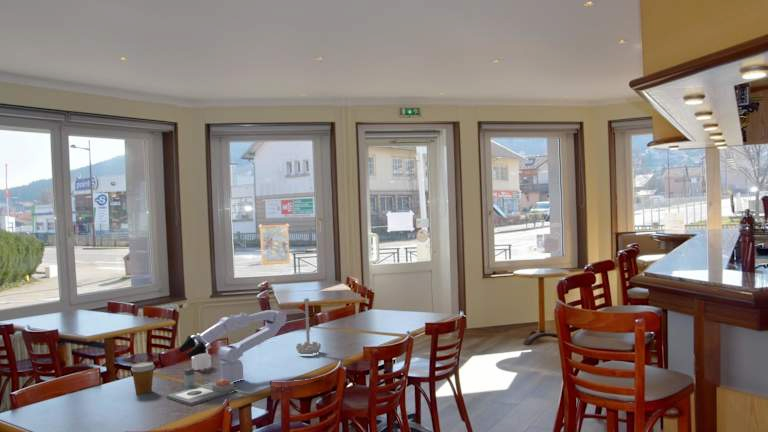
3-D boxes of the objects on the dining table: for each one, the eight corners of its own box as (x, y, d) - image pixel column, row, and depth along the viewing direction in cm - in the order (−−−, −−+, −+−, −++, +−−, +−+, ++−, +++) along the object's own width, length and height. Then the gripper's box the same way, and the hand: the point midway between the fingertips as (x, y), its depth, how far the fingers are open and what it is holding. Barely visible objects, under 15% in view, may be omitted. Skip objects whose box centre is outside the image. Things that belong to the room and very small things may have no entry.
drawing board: (212, 384, 261) (212, 377, 261) (236, 391, 249) (236, 383, 249) (166, 398, 244) (166, 389, 244) (190, 405, 232) (190, 397, 232)
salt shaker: (191, 385, 260) (190, 367, 260) (196, 387, 258) (196, 369, 258) (183, 388, 257) (182, 369, 257) (188, 389, 255) (187, 371, 255)
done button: (224, 384, 251) (224, 378, 251) (229, 386, 249) (229, 379, 249) (216, 387, 248) (216, 380, 248) (221, 388, 246) (221, 382, 246)
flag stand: (323, 351, 317) (321, 295, 316) (318, 357, 304) (315, 299, 304) (299, 351, 318) (297, 296, 318) (293, 357, 305) (291, 300, 305)
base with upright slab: (205, 370, 285) (204, 346, 285) (188, 370, 287) (187, 346, 287) (214, 365, 294) (213, 342, 294) (197, 365, 296) (196, 342, 296)
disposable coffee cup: (132, 390, 256) (131, 363, 256) (155, 387, 260) (154, 360, 260) (131, 396, 248) (130, 368, 248) (155, 393, 251) (154, 365, 251)
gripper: (199, 323, 262) (172, 341, 254) (215, 332, 252) (188, 350, 244) (204, 336, 265) (178, 354, 257) (221, 345, 255) (194, 363, 246)
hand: (183, 353), depth 250 cm, fingers open, 7 cm apart
